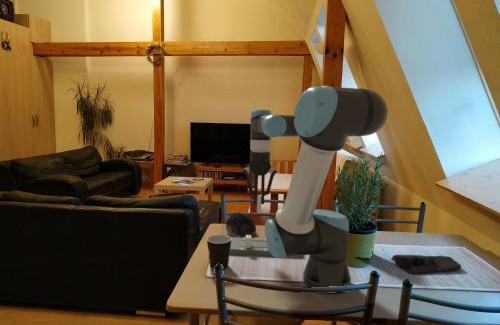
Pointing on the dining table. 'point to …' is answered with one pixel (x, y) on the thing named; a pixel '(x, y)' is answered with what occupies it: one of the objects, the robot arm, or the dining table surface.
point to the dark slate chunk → (425, 263)
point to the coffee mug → (219, 250)
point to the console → (257, 247)
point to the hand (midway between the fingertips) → (258, 212)
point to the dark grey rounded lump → (240, 225)
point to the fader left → (248, 241)
